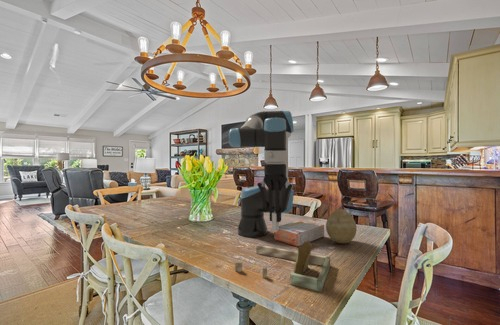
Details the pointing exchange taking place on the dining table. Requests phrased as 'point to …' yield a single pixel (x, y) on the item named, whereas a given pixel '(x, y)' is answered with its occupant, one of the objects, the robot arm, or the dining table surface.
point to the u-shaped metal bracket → (295, 278)
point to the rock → (302, 258)
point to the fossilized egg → (341, 226)
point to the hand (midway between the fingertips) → (275, 230)
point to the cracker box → (299, 232)
